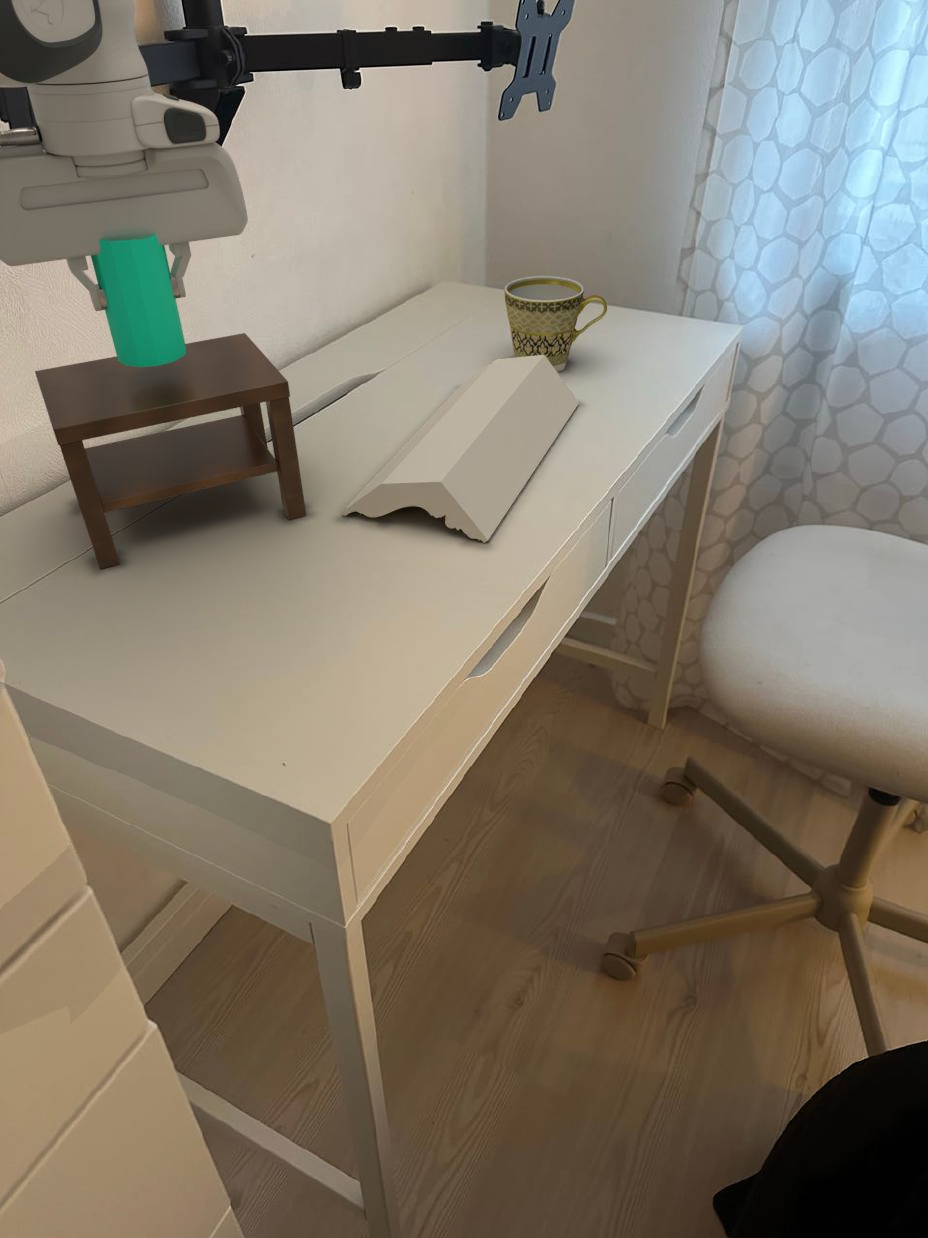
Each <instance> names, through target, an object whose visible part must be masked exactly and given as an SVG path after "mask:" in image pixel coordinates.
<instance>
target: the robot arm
mask: <svg viewBox="0 0 928 1238" xmlns="http://www.w3.org/2000/svg"><path fill="white" fill-rule="evenodd" d="M135 12H136V11H135V0H0V88H25V87H26V89H27V92H28V96H29V100H30V104H31V107H32V111H33V114H34V119H35V122H36V126H27V127H18V128H11V129H7V130H1V131H0V262H3V264H6V265H7V266H8V267H19V266H26V265H32V264H40V263H48V262H56V261H62V260H66V264H67V268H68V269H69V271H70V272H71V274H72V275H73V276H74V278H76V279H77V280H78V282H79V283H81V285H82V286H83V287H84V288H85V289H86V290H87V291H88V292H89V296H90V300H91V303H92V307H93V309H94V311H95V312H101V311H105V310H106V309H108V305H107V301H106V297H105V293H104V289H102V288H100V287H99V285H98V283H96V282H94V280H92V279H91V277H90V276H89V275H88V274H87V273H86V272H85V271H88V270H89V266H88V261H87V257H89V256H90V257H91V255H98V254H99V253H100V243H99V240H103V239H104V240H110V241H117V240H135V239H146V238H147V237H149V236H150V235H153V234H156V236H157V239H158V242H159V244H160V245H162V246H163V245H164V246H168V249H169V251H170V252H171V254H172V255H173V256H174V258H173V262H172V265H171V268H170V274H171V278H170V281H171V285H172V290H173V295H174V298H175V299H176V300H177V299H182V298H186V296H187V293H186V290H185V284H184V279H183V278H184V277H185V274H186V271H187V269H188V266H189V263H190V260H191V257H192V252H191V251H192V250H191V247H190V243H191V242H197V241H205V240H206V241H207V240H214V239H220V238H228V237H236V236H239V235H242V233H243V232H244V231H245V228H246V226H247V224H248V211H247V206H246V200H245V196H244V193H243V188H242V184H241V181H240V177H239V174H238V172H237V168H236V165H235V163H234V160H233V158H232V157H231V155H230V153H229V152H228V150H226V149H225V148H224V147H223V146H221V145H220V144H219V143H218V142H217V141H219V138H220V135H221V134H220V131H221V130H220V123H219V120H218V117H217V116H216V114H215V113H214V112H213V111H212V110H210V109H208V108H207V107H205V106H203V105H200V104H198V103H195V102H193V101H189V100H184V99H180V98H178V97H177V96H175V95H172V94H169V93H162V94H161V93H158V92H154V90H153V89H152V85H151V81H150V75H149V70H148V67H147V66H148V65H147V64H146V61H145V60H144V57H143V55H142V53H141V51H140V48H139V45H138V42H137V36H136V31H135Z"/></svg>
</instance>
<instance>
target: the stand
mask: <svg viewBox="0 0 928 1238" xmlns="http://www.w3.org/2000/svg"><path fill="white" fill-rule="evenodd" d="M185 345H186V353H185V355H184V356H182V357H181V358H179V359H178V360H176V361H174V362H170V363H167V364H163V365H160V366H149V367H135V366H127V365H124V364H123V363H121V362H120V361H118V358H117V355H116V356H111V357H105V358H100V359H93V360H88V361H83V362H77V363H72V364H66V365H61V366H55V367H50V368H45V369H38V370H35V371H34V373H35V377H36V380H37V383H38V386H39V390H40V393H41V396H42V399H43V402H44V405H45V408H46V412H47V415H48V418H49V422H50V424H51V427H52V430H53V434H54V436H55V440H56V443H57V446H59V448H60V451H61V454H62V457H63V460H64V463H65V466H66V470H67V472H68V476H69V478H70V482H71V484H72V488H73V491H74V495H75V497H76V501H77V504H78V506H79V509H80V512H81V515H82V519H83V522H84V525H85V528H86V532H87V534H88V537H89V540H90V544H91V546H92V549H93V553H94V555H95V558H96V562H97V565H98V569H100V570H102V569H107V568H110V567H114V566H118V565H120V564H121V562H120V559H119V556H118V553H117V549H116V545H115V543H114V540H113V536H112V534H111V533H112V532H111V530H110V526H109V523H108V520H107V517H106V513H109V512H114V511H118V510H122V509H126V508H131V507H134V506H138V505H143V504H146V503H147V504H148V503H151V502H156V501H160V500H164V499H167V498H171V497H172V498H173V497H176V496H180V495H184V494H188V493H193V492H197V491H201V490H206V489H209V488H214V487H217V486H222V485H226V484H230V483H234V482H239V481H243V480H247V479H251V478H256V477H260V476H264V475H268V474H271V473H276V472H277V473H276V474H277V478H278V485H279V491H280V492H279V493H280V497H281V504H282V510H283V513H284V515H285V516H286V517H287V518H288V520H289V521H290V520H295V519H298V518H304V517H306V516H307V511H306V504H305V497H304V490H303V483H302V477H301V476H302V475H301V469H300V463H299V462H300V461H299V456H298V450H297V442H296V436H295V435H296V434H295V429H294V422H293V414H292V408H291V402H290V401H291V400H290V397H291V391H290V386H289V385H290V384H289V381H288V379H287V378H286V377H285V376H284V375H283V374H282V373H281V372H280V370H279V369H278V368H277V367H276V366H275V365H274V364H273V363H272V362H271V360H269V358H268V357H267V356H266V355H265V354H264V352H263V351H262V350H261V349H260V348H259V347H258V346H257V345H256V344H255V342H253V340H252V339H251V338H250V337H249V336H248V335H247V333H245V332H243V333H237V334H232V335H226V336H222V337H221V336H220V337H215V338H209V339H204V340H199V341H194V342H188V343H187V342H186V343H185ZM261 403H265V406H266V407H265V408H266V413H267V418H268V425H269V430H270V431H269V432H270V436H271V437H270V438H271V442H272V447H273V449H272V450H273V454H272V453H271V451H270V450H269V447H268V442H267V441H268V440H267V436H266V429H265V424H264V418H263V413H262V412H263V411H262V407H261ZM238 408H239V410H240V415H234V416H229V417H226V418H220V419H216V420H211V421H207V422H202V423H198V424H193V425H187V426H184V427H183V426H182V427H178V428H174V429H169V430H165V431H160V432H156V433H155V432H154V433H150V434H145V435H141V436H137V437H132V438H128V439H122V440H118V441H113V442H109V443H103V444H99V445H95V446H90V447H85V445H84V442H83V441H87V440H90V439H95V438H100V437H105V436H110V435H114V434H119V433H123V432H129V431H134V430H138V429H143V428H148V427H153V426H156V425H157V426H158V425H162V424H167V423H173V422H176V421H180V420H186V419H190V418H191V419H192V418H195V417H200V416H205V415H209V414H213V413H215V414H216V413H218V412H223V411H224V412H225V411H228V410H233V409H238ZM273 455H274V456H273Z"/></svg>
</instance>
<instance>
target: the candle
mask: <svg viewBox="0 0 928 1238" xmlns="http://www.w3.org/2000/svg"><path fill="white" fill-rule="evenodd" d="M99 243H100V253H99V254H98V255H91V256H90V258H91V263H92V266H93V269H94V273H95V277H96V281H97V284H98V285H99V287H100V288H102V289H104V293H105V297H106V301H107V305H108V309H106V310H104V312H105V316H106V319H107V324H108V327H109V332H110V335H111V338H112V343H113V347H114V351H115V355H116V356H117V358H118V361H120V362H121V363H123V364H124V365H127V366H135V367H149V366H160V365H163V364H167V363H170V362H174V361H176V360H178V359H179V358H181V357H182V356H184V355H185V353H186V345H185V344H186V341H185V336H184V332H183V331H184V330H183V326H182V322H181V318H180V312H179V308H178V303H177V298H176V299H175V298H174V295H173V290H172V285H171V281H170V278H171V274H170V272H171V269H170V265H169V260H168V256H167V251H166V247H165V246H166V245H163V246H162V245H160V244H159V242H158V239H157V236H156V234H153V235H150V236H149V237H147V238H146V239H135V240H117V241H110V240H104V239H103V240H99Z"/></svg>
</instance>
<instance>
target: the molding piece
mask: <svg viewBox="0 0 928 1238" xmlns="http://www.w3.org/2000/svg"><path fill="white" fill-rule="evenodd" d="M579 404H580V402H579V400H578V399H577V397H576V396H575V395H574V393H573V392H572V390H571V389H570V388H569V386H568V385H567V384H566V382H565V381H564V380H563V378H562V377H561V375H560V374H559V372H557V371H556V370H555V369H554V367H553V366H552V364H551V363H550V362H549V360H548V359H547V358H546V356H545V355H537V356H526V357H516V358H515V357H507V358H506V357H505V358H497V359H496V358H495V359H494V360H493V361H491V362H490V363H489V364H488V365H486V366H485V367H483V368H482V369H481V370H480V371H478V372H477V373H475V374H474V375H473V376H471V377H470V378H469V379H467V380H466V381H465V382H463V383H462V384H461V385H459V387H457V389H456V390H455V391H454V392H453V393H452V394H451V395H450V396H449V397H448V398H447V399H446V400H445V401H444V403H443V404H442V405H441V406H439V407H438V409H437V410H436V411H435V412H434V413H433V414H432V415H431V416H430V417H429V418H428V420H426V421H425V422H424V424H423V425H421V427H420V428H419V429H418V430H417V431H416V432H415V433H414V434H413V435H412V436H411V438H409V439H408V440H407V442H406V443H405V444H404V445H403V446H402V447H401V448H400V449H399V450H398V451H397V452H396V453H395V454H394V455H393V456H392V457H391V459H390V460H389V461H388V462H387V463H386V464H385V465H384V466H383V467H382V468H381V469H380V470H379V472H377V474H376V475H374V477H373V478H372V479H371V480H370V481H369V482H368V483H367V484H366V485H365V486H364V487H363V488H362V489H361V490H360V491H359V493H357V494H356V495H355V497H354V498H353V499H352V500H351V501H350V502H349V503H348V504H347V505H346V507H344V509H342V510H341V514H342V515H343V516H344V517H346V516H348V515H349V514H351V513H354V512H357V513H359V514H360V515H362V514H363V515H364V516H366V517H367V518H379V517H383V516H385V515H388V514H390V513H392V512H394V511H397V510H400V509H402V508H408V507H418V508H420V509H423V510H425V511H426V512H427V513H428V514H429V515H430V516H431V517H434V518H435V519H438V518H440V519H441V518H442V517H444V520H445V521H444V524H445V526H446V527H447V528H449V529H456V530H457V531H460V530H461V531H462V532H463V533H464V534H465V535H466V536H467V537H468V538H470V539H473V540H474V539H475V540H478V541H482V543H483V544H484V543H486V542H488V541H489V540H490V539H491V537H492V536H493V534H494V532H495V531H496V529H497V528H498V526H499V525H500V524H501V522H502V520H503V519H504V517H505V516H506V514H507V513H508V511H509V510H510V508H511V507H512V505H513V504H514V502H515V501H516V499H517V498H518V496H519V494H520V493H521V492H522V490H523V488H524V487H525V486H526V484H527V483H528V481H529V479H530V478H531V476H532V475H533V473H534V472H535V470H536V469H537V468H538V466H539V464H540V463H541V461H542V460H543V458H544V457H545V455H546V454H547V452H548V451H549V449H550V448H551V446H552V444H553V443H554V442H555V440H556V439H557V437H558V436H559V435H560V432H561V431H562V430H563V428H564V427H565V425H566V424H567V422H568V421H569V419H570V418H571V416H572V414H573V413H574V412H575V410H576V408H577V407H578V405H579Z"/></svg>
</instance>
